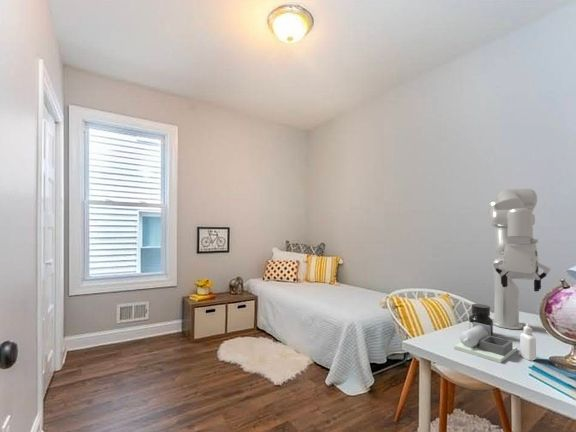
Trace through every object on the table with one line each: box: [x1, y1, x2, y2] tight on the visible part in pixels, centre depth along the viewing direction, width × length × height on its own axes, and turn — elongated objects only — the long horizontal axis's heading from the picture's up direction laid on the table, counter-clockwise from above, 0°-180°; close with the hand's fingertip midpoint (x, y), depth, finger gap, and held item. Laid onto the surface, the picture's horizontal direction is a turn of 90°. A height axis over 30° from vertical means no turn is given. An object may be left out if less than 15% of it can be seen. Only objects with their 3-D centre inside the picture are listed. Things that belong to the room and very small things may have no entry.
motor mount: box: [453, 322, 518, 364], centre depth 118 cm, size 18×15×7 cm
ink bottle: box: [468, 303, 494, 336], centre depth 136 cm, size 10×9×12 cm
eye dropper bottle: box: [519, 323, 537, 362], centre depth 111 cm, size 4×6×12 cm
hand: (520, 288), depth 115 cm, fingers open, 9 cm apart
